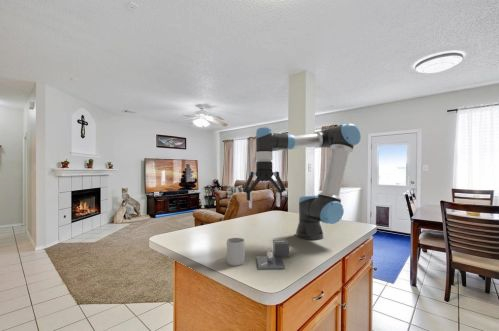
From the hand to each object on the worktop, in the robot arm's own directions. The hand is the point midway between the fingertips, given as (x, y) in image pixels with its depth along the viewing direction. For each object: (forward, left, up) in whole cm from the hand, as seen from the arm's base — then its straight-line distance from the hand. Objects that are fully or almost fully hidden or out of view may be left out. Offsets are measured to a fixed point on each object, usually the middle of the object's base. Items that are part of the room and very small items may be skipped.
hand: (264, 207), depth 104 cm
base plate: (-1, +13, -21) cm, 24 cm away
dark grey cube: (-7, +4, -21) cm, 22 cm away
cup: (+14, +10, -21) cm, 27 cm away
